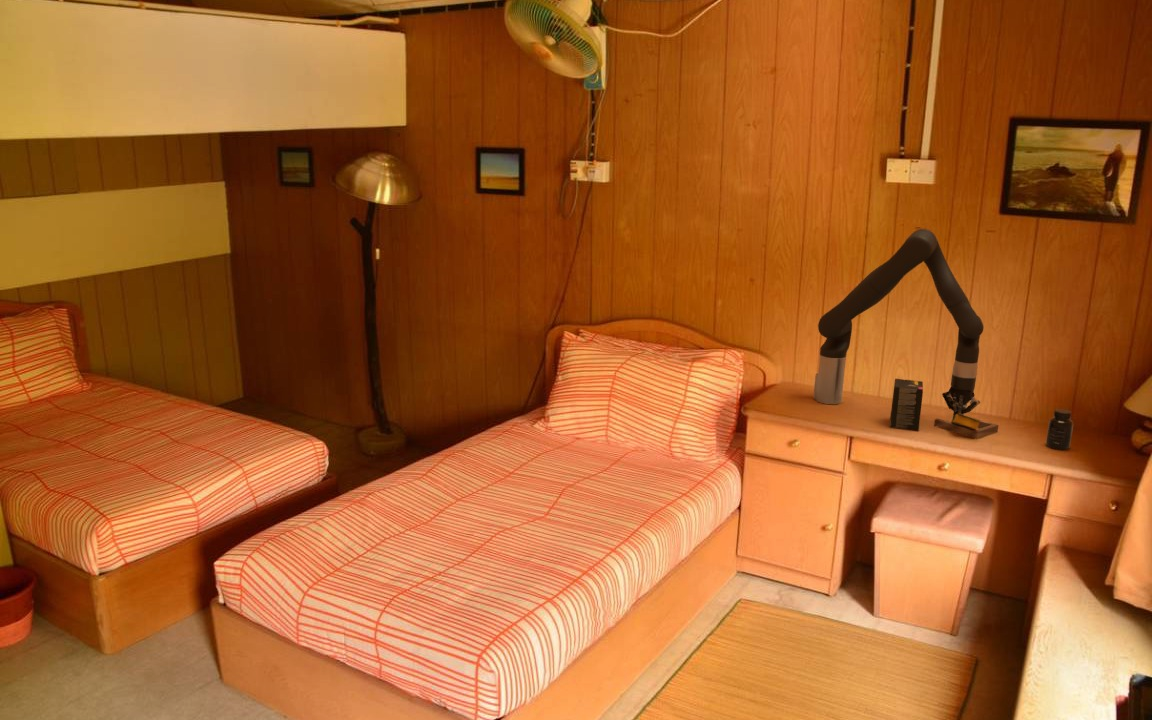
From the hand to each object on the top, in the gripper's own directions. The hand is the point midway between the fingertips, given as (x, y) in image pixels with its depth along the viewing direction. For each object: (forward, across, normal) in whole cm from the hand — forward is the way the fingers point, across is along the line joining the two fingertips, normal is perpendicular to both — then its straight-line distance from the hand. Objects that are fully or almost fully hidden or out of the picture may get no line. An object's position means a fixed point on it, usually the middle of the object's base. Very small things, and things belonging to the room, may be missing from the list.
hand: (957, 423), depth 310 cm
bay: (+1, +3, 0) cm, 3 cm away
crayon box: (-1, +3, -1) cm, 3 cm away
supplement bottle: (+1, +30, +8) cm, 31 cm away
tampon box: (+1, -11, -14) cm, 18 cm away
